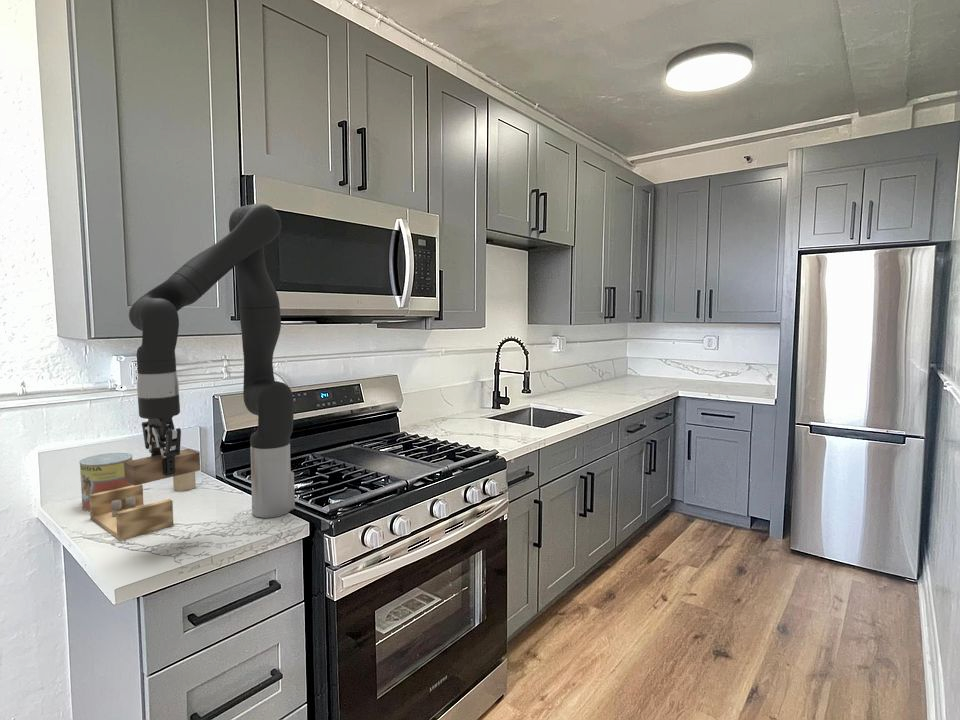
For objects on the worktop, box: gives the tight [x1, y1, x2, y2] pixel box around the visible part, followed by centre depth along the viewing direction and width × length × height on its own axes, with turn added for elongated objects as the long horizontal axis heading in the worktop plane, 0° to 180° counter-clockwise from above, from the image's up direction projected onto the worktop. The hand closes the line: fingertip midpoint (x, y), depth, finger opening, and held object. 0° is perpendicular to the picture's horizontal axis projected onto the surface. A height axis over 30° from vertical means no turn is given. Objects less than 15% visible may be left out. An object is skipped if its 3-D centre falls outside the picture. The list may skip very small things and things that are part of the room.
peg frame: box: [89, 484, 174, 541], centre depth 129 cm, size 11×19×6 cm, turn 52°
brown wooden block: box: [124, 448, 201, 486], centre depth 116 cm, size 13×5×4 cm, turn 142°
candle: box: [172, 471, 197, 492], centre depth 153 cm, size 6×6×10 cm
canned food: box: [78, 452, 133, 513], centre depth 140 cm, size 11×11×12 cm
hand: (163, 471), depth 116 cm, fingers closed on brown wooden block, 5 cm apart
